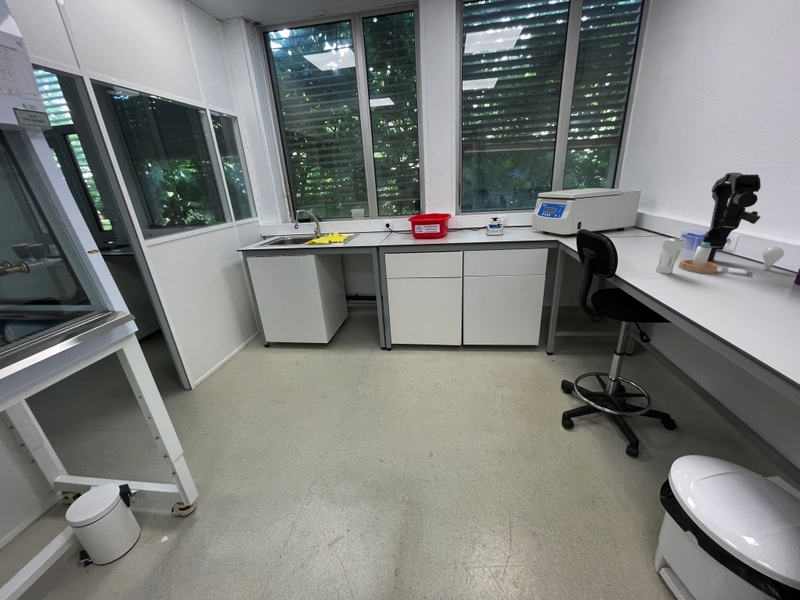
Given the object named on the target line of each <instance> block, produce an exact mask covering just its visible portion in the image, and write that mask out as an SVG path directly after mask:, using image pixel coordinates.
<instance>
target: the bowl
mask: <svg viewBox="0 0 800 600" xmlns="http://www.w3.org/2000/svg"><path fill="white" fill-rule="evenodd" d="M692 262H693V259H681V260H680V261H679V265H678V269H679V268H680V269H681V270H683V271H686V272H691V273H697V274H698V273H699V274H715V273H716V272H717V270H718V267H719V265H718V264H716V263H714V262H710V261H707V263H706V266H705V267H701V266H695V265H691V264H692Z"/></svg>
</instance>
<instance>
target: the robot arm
mask: <svg viewBox="0 0 800 600" xmlns="http://www.w3.org/2000/svg"><path fill="white" fill-rule="evenodd" d="M761 183H762V182H761V178H760V176H759V174H743V173H741V172H728V173H726V174H725V175H724V176H723V177H722V178H719V179H717V180H716V182H715V183H714V184H713V186H712V188H711V193H712V194H711V199H713V201H714V206H713V211H712V216H711V221H710V227H709V229H708V231H706V233H705V234H704V235H703V236H702V238H701V239H700V241H699V242H698V245H697V247H698V246H701V244H702V242H706V243H711V244H710V247H711V248H712V249H711V252H710V255H709V257H708V260H707V262H710V263H714V262H715V256H716V254H717V252H718V250H720V251H723V249H724V248H725V246H726V244H727V243H728V237H729V236H730V234H731V233H732V231H734V230H736V229H738V228H739V226H740V223H741V222H742V220H743V221H746V222H749V223H750V224H752V225H756V223H757V222H758V221H759V220H760V219H761V216H760V215H758V213H759V212H758V211H755V210H753V211H752V212H750V211H746V209H747V208H749V207H750V208H751V207H752V206H754V205H755V204H756V203H757V202H758V199H759V198H758V195H757V194H756V193H758V192H759V191H760V190H761V188H762V187H761V185H762V184H761Z"/></svg>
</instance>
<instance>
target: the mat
mask: <svg viewBox="0 0 800 600" xmlns="http://www.w3.org/2000/svg"><path fill="white" fill-rule="evenodd" d="M745 271H746V270H745ZM720 273H721V274H727V275H733V276H739V277H745V278H746V277H747V278H753V276H754V275H753V274H754V271H746V273H747V275H738V274H730V272H729V271H728V268H725V267H722V268H721V270H720Z"/></svg>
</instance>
